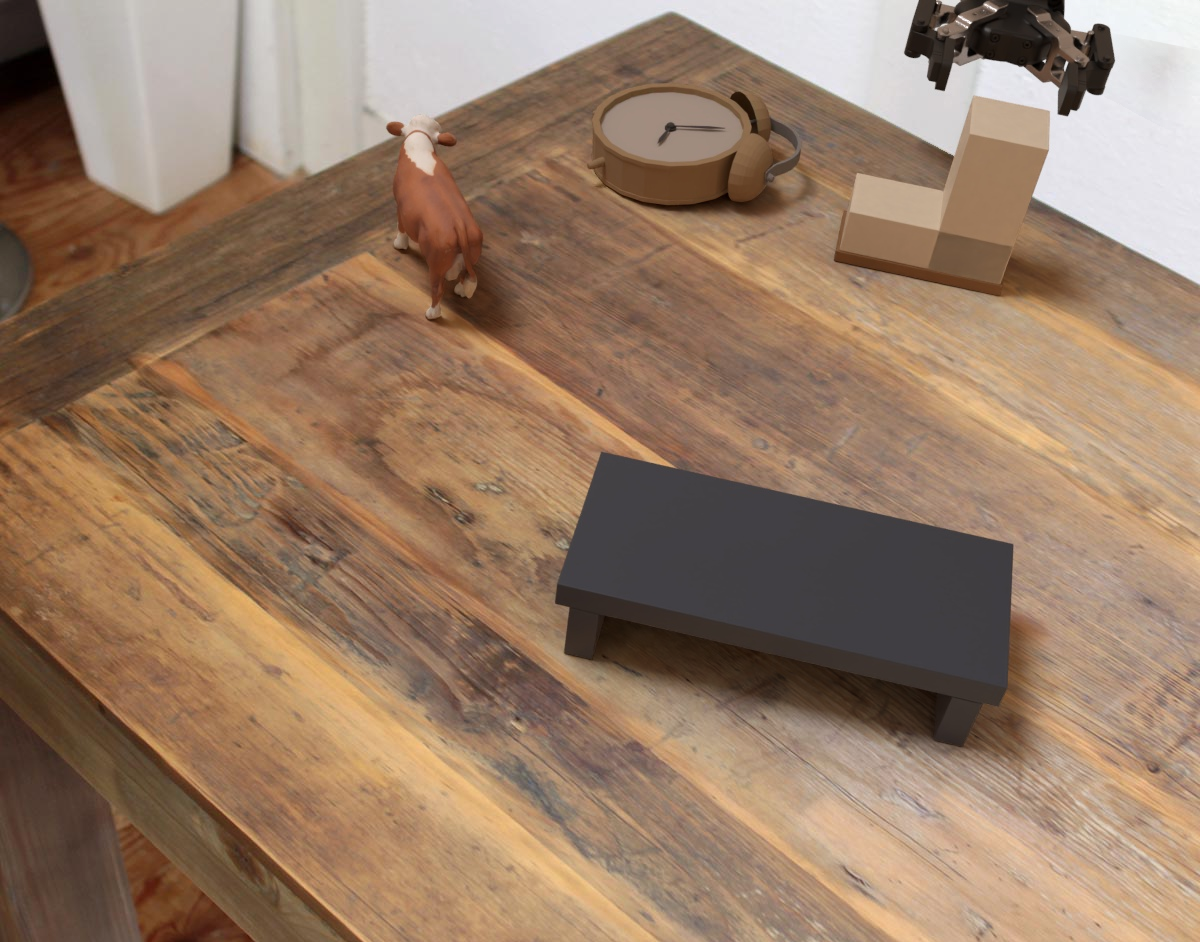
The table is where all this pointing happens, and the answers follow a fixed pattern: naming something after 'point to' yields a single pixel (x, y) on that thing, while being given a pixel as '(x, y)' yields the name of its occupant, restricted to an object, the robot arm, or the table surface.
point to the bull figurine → (434, 209)
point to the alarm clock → (686, 144)
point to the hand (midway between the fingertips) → (1005, 90)
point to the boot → (954, 205)
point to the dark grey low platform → (793, 582)
